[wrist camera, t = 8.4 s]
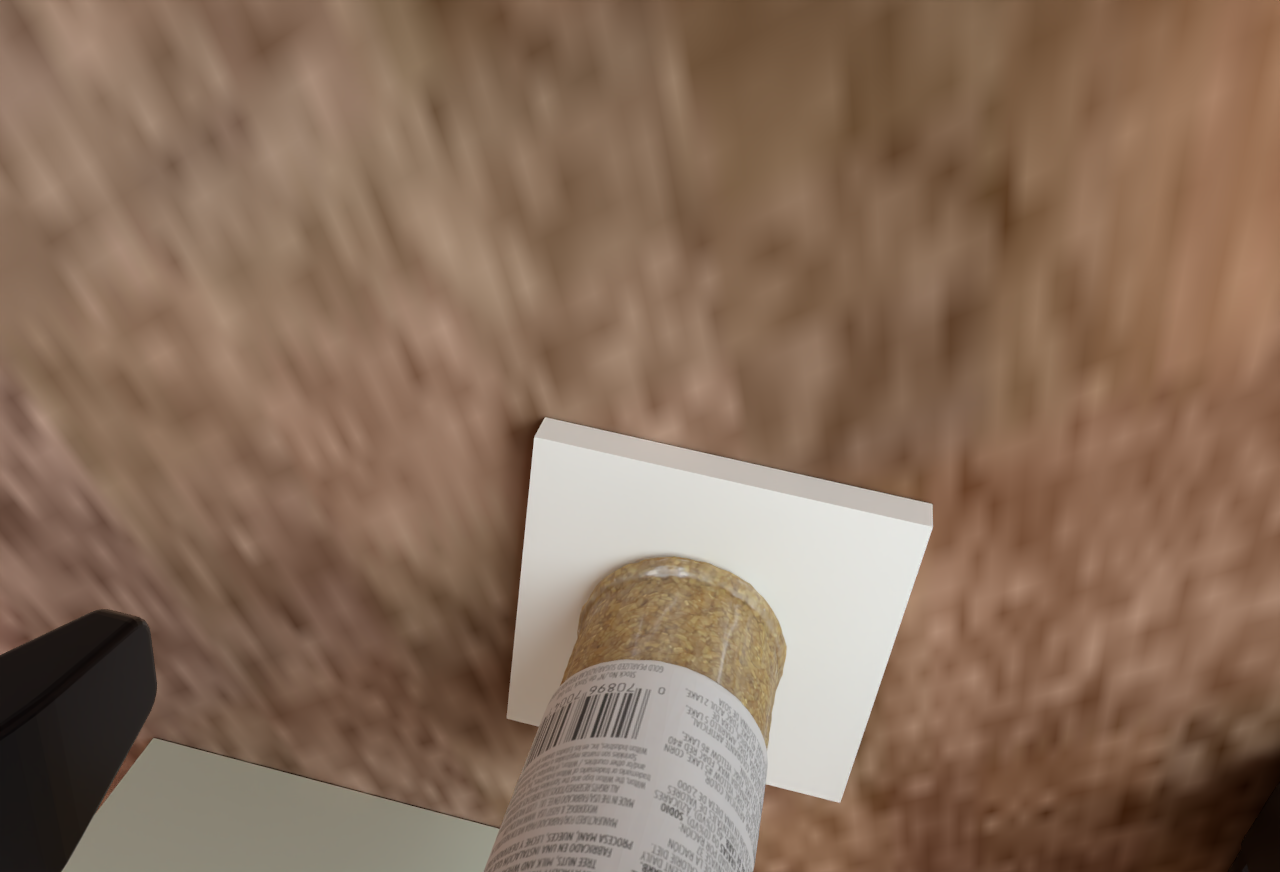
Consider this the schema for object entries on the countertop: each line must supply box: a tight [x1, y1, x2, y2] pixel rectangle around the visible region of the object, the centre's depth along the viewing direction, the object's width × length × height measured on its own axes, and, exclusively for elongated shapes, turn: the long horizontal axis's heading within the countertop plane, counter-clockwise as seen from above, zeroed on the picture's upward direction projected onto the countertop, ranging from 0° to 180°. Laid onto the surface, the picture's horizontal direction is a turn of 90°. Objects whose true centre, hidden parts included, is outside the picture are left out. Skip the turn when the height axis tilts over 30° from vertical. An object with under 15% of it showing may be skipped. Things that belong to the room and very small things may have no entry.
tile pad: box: [507, 417, 933, 803], centre depth 25 cm, size 8×8×1 cm
